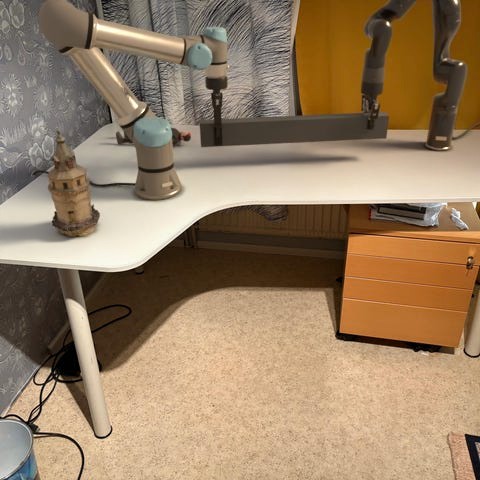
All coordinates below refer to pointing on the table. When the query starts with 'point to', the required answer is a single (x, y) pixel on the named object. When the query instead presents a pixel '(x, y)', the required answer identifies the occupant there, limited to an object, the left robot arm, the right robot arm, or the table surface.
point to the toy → (175, 137)
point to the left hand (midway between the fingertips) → (218, 142)
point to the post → (294, 129)
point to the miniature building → (70, 193)
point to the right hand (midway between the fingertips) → (367, 126)
